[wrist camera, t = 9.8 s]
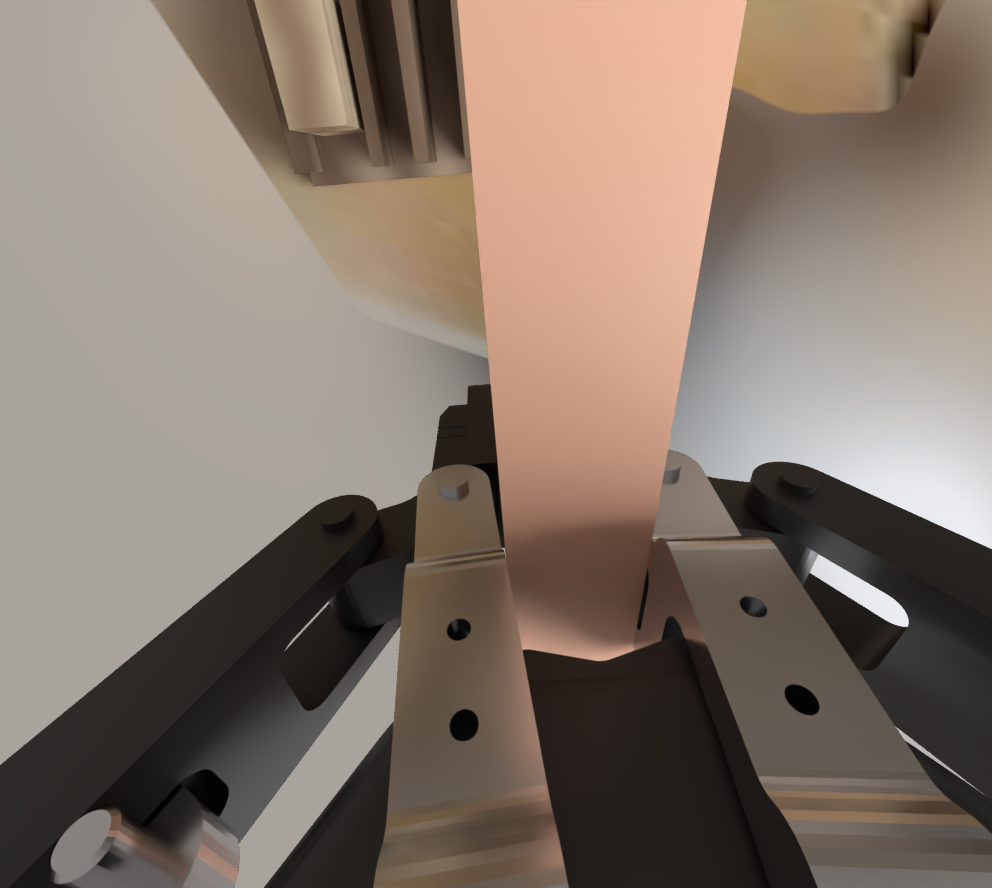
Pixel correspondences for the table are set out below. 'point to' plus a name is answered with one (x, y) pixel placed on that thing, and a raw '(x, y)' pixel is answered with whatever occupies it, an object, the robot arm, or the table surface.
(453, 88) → the walnut rack
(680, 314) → the terracotta board
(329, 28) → the offcut stack
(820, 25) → the table surface
